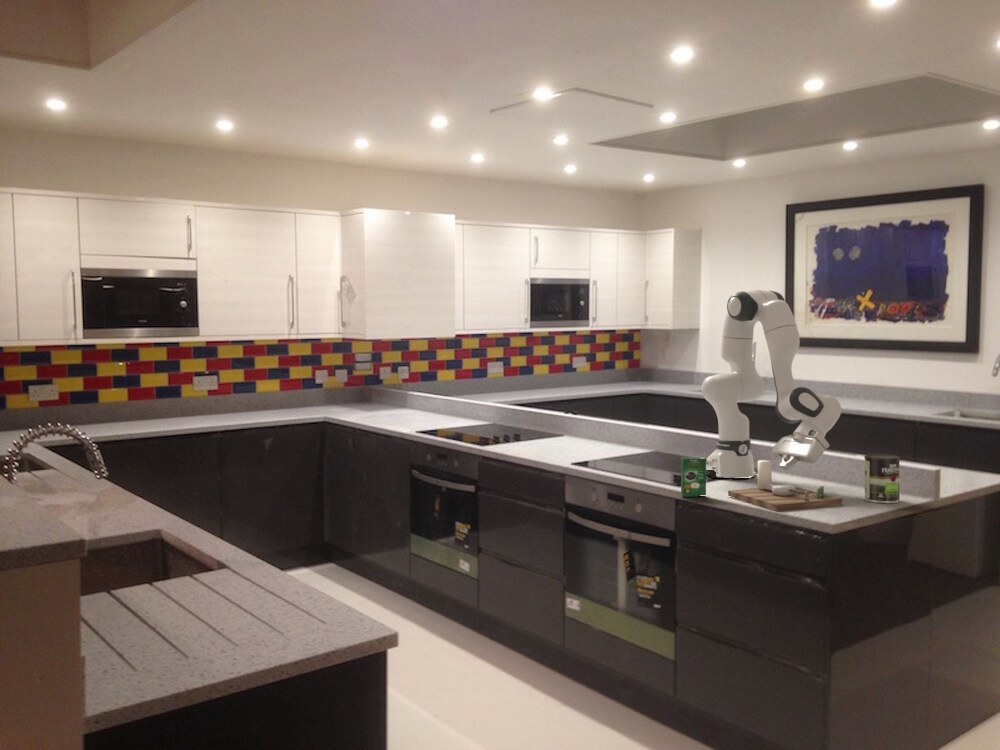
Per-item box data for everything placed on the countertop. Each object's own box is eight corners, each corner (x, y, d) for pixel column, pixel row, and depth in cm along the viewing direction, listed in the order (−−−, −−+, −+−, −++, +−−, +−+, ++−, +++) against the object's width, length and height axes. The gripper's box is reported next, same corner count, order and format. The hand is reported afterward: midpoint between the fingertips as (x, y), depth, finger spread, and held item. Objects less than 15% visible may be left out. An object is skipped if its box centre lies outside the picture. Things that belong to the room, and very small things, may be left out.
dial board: (728, 496, 282) (728, 481, 282) (789, 491, 290) (789, 476, 290) (776, 511, 258) (776, 495, 258) (842, 505, 265) (842, 489, 265)
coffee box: (705, 495, 285) (704, 456, 285) (706, 497, 283) (706, 457, 282) (680, 496, 286) (680, 457, 285) (682, 497, 283) (681, 458, 282)
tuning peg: (751, 488, 284) (751, 460, 284) (769, 486, 286) (769, 459, 286) (794, 499, 263) (793, 470, 263) (813, 498, 265) (812, 468, 265)
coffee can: (907, 502, 267) (907, 457, 267) (879, 504, 265) (879, 459, 264) (884, 496, 277) (883, 453, 277) (857, 498, 274) (857, 455, 274)
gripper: (782, 428, 297) (758, 458, 294) (821, 433, 277) (796, 465, 274) (793, 440, 298) (770, 470, 295) (833, 446, 279) (808, 478, 276)
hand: (783, 467), depth 285 cm, fingers closed
